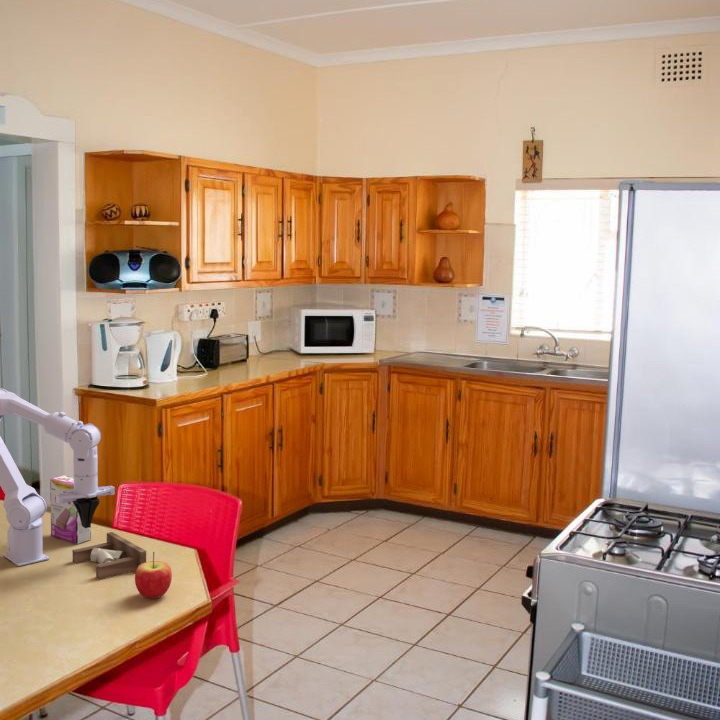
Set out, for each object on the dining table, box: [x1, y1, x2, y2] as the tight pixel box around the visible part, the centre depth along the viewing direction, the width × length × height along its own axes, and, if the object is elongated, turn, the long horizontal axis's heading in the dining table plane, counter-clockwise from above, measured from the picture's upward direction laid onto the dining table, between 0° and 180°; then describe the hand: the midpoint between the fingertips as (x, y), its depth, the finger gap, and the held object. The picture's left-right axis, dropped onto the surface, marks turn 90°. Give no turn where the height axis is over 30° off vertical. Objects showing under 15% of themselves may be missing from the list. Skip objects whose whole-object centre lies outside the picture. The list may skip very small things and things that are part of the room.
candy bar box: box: [49, 475, 92, 545], centre depth 231 cm, size 11×5×16 cm, turn 58°
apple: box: [134, 551, 173, 599], centre depth 195 cm, size 8×8×10 cm
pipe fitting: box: [90, 548, 126, 564], centre depth 214 cm, size 8×4×7 cm
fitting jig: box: [71, 531, 147, 580], centre depth 214 cm, size 18×12×5 cm, turn 43°
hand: (86, 526), depth 214 cm, fingers closed
